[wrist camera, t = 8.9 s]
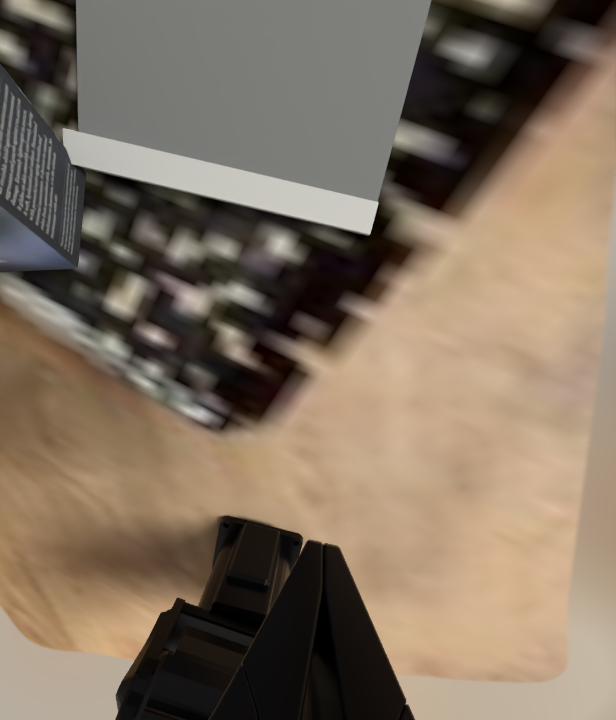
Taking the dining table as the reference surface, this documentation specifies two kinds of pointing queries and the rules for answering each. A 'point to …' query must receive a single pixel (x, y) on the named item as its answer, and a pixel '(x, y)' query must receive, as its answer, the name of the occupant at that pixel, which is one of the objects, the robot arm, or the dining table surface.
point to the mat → (247, 99)
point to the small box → (36, 189)
